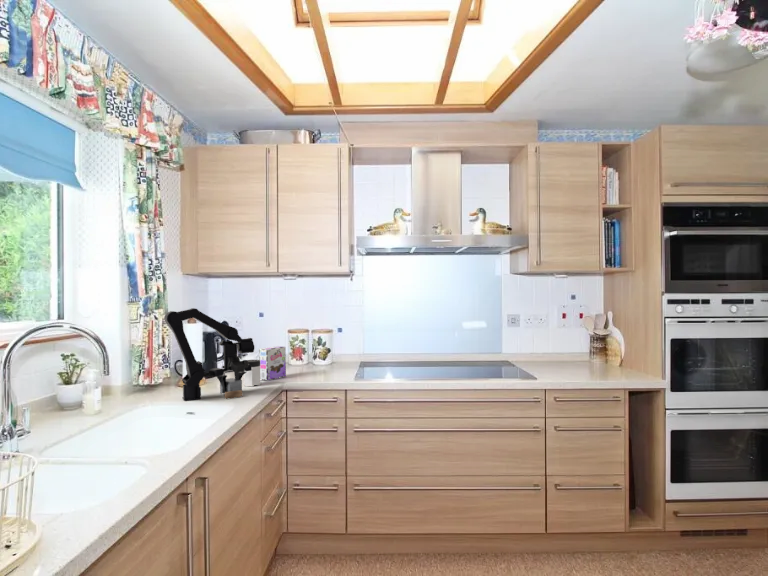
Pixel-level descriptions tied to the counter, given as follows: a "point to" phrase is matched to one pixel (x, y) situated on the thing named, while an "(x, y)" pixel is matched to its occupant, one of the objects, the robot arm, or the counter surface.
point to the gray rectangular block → (231, 385)
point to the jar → (252, 374)
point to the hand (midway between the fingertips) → (231, 388)
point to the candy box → (272, 362)
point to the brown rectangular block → (233, 394)
